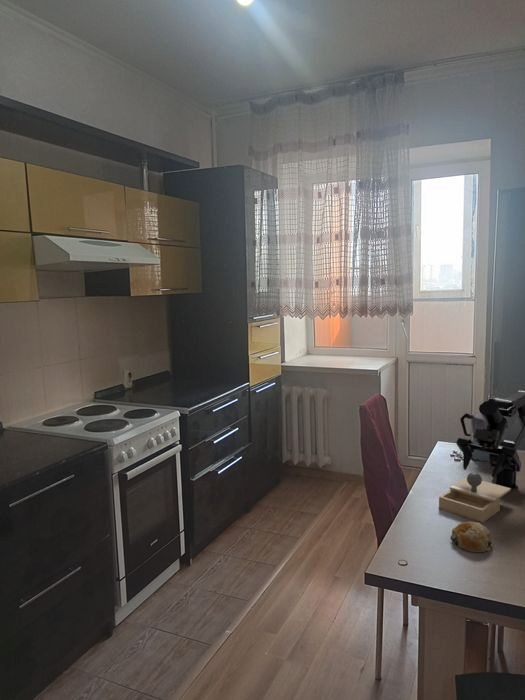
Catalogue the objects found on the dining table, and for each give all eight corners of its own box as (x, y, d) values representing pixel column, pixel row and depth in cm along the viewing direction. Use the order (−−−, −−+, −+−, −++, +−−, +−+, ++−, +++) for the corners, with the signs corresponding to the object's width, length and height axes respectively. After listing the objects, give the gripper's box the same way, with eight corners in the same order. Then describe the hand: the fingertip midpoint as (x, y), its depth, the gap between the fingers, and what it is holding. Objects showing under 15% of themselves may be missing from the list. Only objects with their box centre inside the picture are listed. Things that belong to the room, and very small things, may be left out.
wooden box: (456, 497, 172) (457, 485, 171) (499, 510, 161) (500, 498, 161) (438, 508, 164) (439, 496, 163) (482, 523, 153) (482, 510, 153)
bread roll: (479, 568, 136) (495, 546, 134) (444, 544, 141) (458, 522, 138) (486, 551, 145) (500, 529, 142) (452, 528, 149) (465, 507, 146)
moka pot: (503, 463, 201) (505, 413, 199) (461, 461, 204) (463, 412, 202) (497, 454, 211) (499, 407, 208) (457, 453, 214) (458, 406, 211)
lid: (467, 478, 176) (468, 458, 175) (510, 490, 166) (511, 469, 165) (449, 489, 168) (449, 469, 167) (493, 502, 157) (494, 480, 156)
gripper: (459, 413, 173) (442, 453, 167) (517, 424, 159) (500, 468, 153) (469, 431, 179) (453, 470, 173) (526, 442, 166) (510, 485, 160)
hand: (478, 473), depth 165 cm, fingers open, 9 cm apart
